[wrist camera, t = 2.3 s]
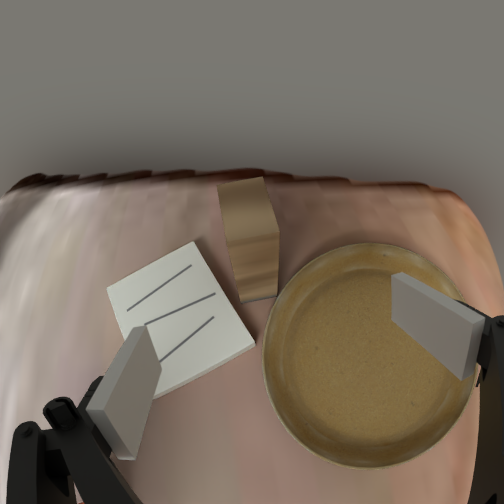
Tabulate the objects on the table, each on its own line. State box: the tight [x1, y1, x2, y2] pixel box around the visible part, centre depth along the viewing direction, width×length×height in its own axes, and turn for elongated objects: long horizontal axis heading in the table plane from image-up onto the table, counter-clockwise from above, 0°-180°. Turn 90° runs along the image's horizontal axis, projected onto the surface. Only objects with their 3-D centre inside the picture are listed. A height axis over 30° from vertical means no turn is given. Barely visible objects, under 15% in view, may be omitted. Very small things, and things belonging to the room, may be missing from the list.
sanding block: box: [217, 177, 280, 304], centre depth 28 cm, size 6×4×12 cm, turn 11°
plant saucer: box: [262, 243, 478, 470], centre depth 26 cm, size 24×24×3 cm
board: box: [106, 241, 256, 399], centre depth 30 cm, size 14×12×2 cm
